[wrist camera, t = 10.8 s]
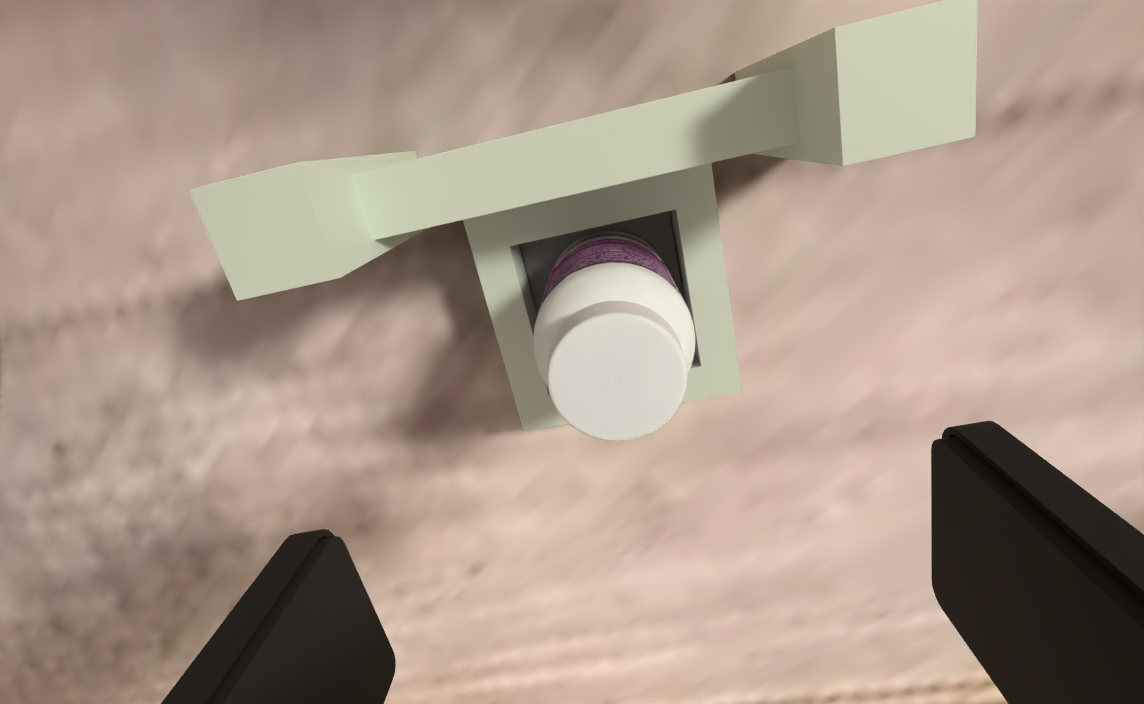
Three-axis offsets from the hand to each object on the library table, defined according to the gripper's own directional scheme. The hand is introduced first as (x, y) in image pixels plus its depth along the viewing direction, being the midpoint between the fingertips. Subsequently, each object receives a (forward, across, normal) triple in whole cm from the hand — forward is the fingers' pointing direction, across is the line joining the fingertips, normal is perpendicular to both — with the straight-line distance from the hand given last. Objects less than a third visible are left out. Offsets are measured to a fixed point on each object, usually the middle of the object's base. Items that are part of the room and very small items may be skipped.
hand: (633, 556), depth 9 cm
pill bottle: (+17, 0, 0) cm, 17 cm away
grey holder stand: (+17, 0, -1) cm, 17 cm away
